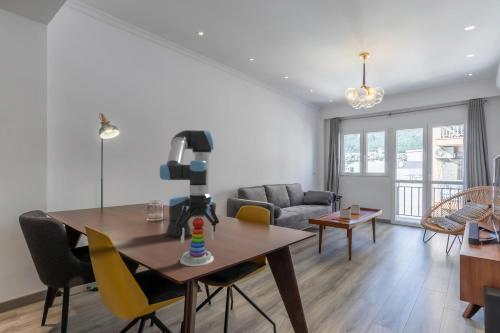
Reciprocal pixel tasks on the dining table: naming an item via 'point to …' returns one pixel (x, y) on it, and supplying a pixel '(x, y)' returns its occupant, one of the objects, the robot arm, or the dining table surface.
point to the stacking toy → (197, 240)
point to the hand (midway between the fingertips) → (197, 240)
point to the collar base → (196, 259)
